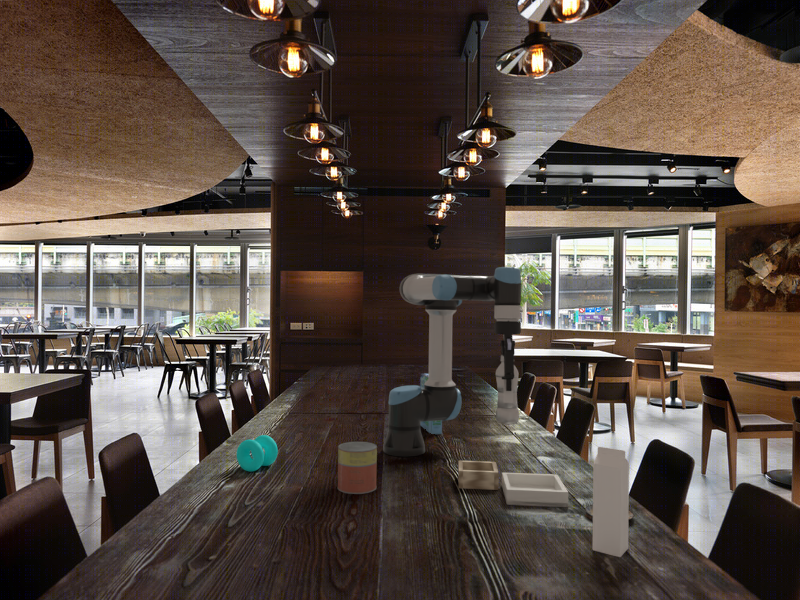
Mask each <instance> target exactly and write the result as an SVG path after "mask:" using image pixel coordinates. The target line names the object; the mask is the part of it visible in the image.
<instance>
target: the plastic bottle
mask: <svg viewBox="0 0 800 600" xmlns="http://www.w3.org/2000/svg"><path fill="white" fill-rule="evenodd" d="M499 361H500V362H501V363H500V364H499V365H498V367H496V370H495V379H496V386H497V401H496V402H497V404H496V405H497V406H496V409H495V419H496V421H497V423H499V424H502V425H505V426H510V425H511V426H512V425H515V424H517V423H519V420H520V411H519V405H518V395H517V394H518V393H517V392H518V383H519V375H520V374H519V370H518V369H517V367H516V365H515V364H514V378H513V403H504V379H502V377H504V356H503V355H502V354H500V360H499Z"/></svg>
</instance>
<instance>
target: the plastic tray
mask: <svg viewBox="0 0 800 600" xmlns="http://www.w3.org/2000/svg"><path fill="white" fill-rule="evenodd" d="M501 488H502V492H503V495H504V499H505V502H506V505H508V506H509V505H510V506H527V507H530V506H533V507H550V508H552V507H553V508H569V491H568V490H567V488H566V486H565V485H564V483H563V481H562V480H561V478H560V477H559V475H558V474H551V473H550V474H549V473H548V474H547V473H528V472H527V473H525V472H524V473H523V472H501Z"/></svg>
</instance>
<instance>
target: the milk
mask: <svg viewBox="0 0 800 600" xmlns="http://www.w3.org/2000/svg"><path fill="white" fill-rule="evenodd" d="M592 465H593V466H592V467H593V469H592V470H593V471H592V472H593V475H592V477H593V478H592V480H593V481H592V505H593V520H592V551H595V552H598V553H602V554H606V555H610V556H612V557H613V556H614V557H616V558H621V557H622V556H623V555H624V554H626V552H627V550H628V549H629V520H628V516H629V510H630V508H629V499H630V498H629V495H630V494H629V493H630V491H629V489H630V488H629V487H630V484H629V483H630V462H629V461H628V459H627V458H626V451H625V450H623V449H618V448H611V447H603V446H598V447H597V454H596V456H595V459H594V460H593V464H592Z"/></svg>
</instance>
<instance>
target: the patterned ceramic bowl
mask: <svg viewBox="0 0 800 600" xmlns="http://www.w3.org/2000/svg"><path fill="white" fill-rule="evenodd" d="M584 510H585V514H584V516H585V517H586V518H587V519H589V520H591V521H593V504H590V505H587V506H586V507H585V509H584ZM634 517H635V514H634V512H632V511H631V510H630V509H629V516H628V521H629V520H631V519H633V518H634Z"/></svg>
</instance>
